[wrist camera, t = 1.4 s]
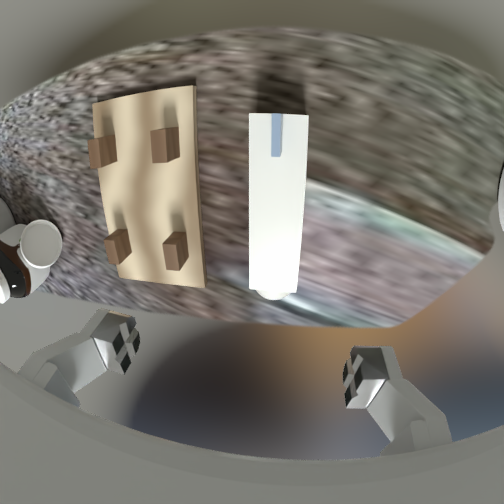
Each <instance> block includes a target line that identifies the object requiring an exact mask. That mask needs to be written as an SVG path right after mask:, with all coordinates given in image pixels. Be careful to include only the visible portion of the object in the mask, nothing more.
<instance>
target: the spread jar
mask: <svg viewBox="0 0 504 504" xmlns="http://www.w3.org/2000/svg"><path fill="white" fill-rule="evenodd" d="M61 250H62V237H61V234H60V232H59V230H58V228H57V227H56V226H55V225H54V224H53V223H51V222H50V221H47V220H43V219H39V220H35V221H33V222H31V223H29V224H18V225H15V226H13V227H11V228H9V229H8V230H6V231H5V232H3V233H2V234H0V303H4V302H5V301H6V300H7V299H9V297H14V298H22V297H26V296H27V295H29V294H31V293H32V292H33V291H34V290H35V289H36V288H37V287H39V286H40V285H41V284H42V283H43V282H44V281H45V279H46V278H47V276H48V275H49V272H50V269H51V265H52V264H53V263H55V261H56V260H57V259H58V257H59V255H60V253H61Z"/></svg>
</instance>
